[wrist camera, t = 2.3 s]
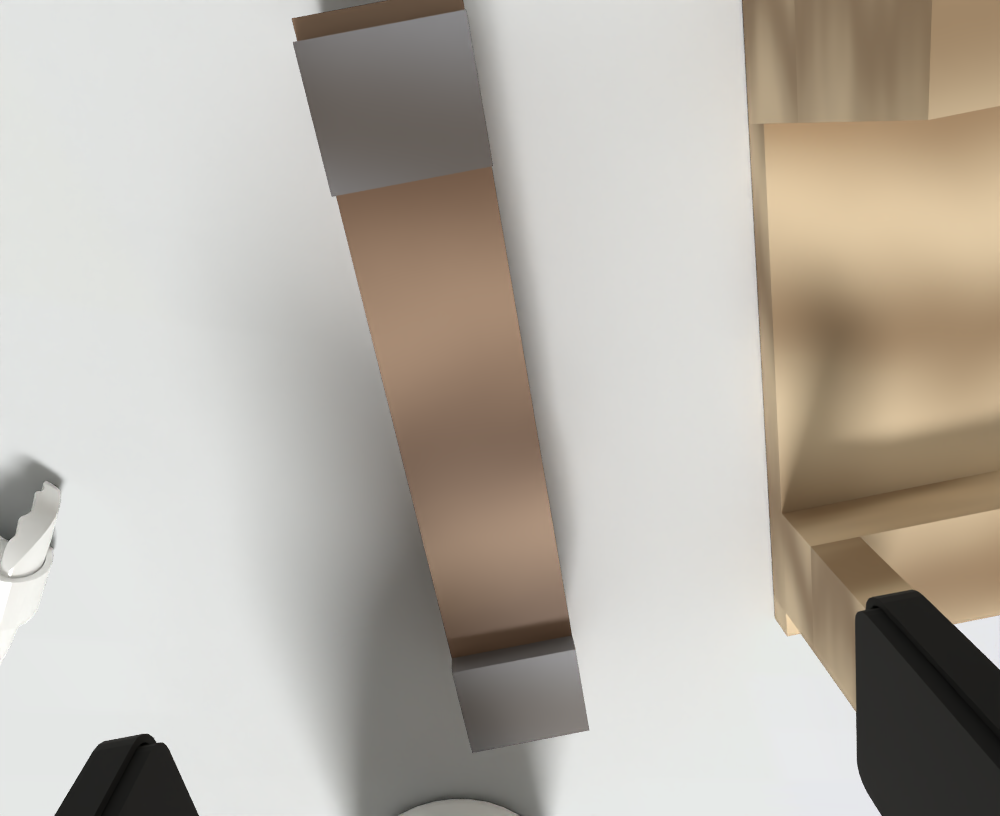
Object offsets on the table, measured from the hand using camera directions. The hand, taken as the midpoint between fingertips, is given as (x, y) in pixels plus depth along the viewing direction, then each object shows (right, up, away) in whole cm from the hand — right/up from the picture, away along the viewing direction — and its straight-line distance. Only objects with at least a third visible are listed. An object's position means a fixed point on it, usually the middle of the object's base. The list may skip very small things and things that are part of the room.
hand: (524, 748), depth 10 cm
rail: (-1, +5, +13) cm, 14 cm away
